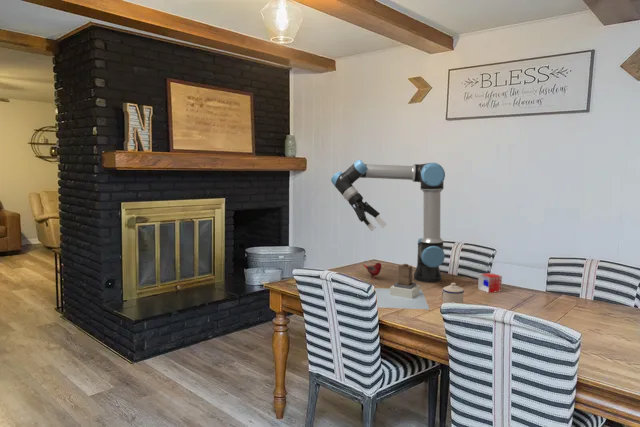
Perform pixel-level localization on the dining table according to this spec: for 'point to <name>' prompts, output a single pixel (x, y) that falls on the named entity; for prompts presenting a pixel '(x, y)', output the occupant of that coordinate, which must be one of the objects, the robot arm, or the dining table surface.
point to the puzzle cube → (489, 282)
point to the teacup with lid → (452, 293)
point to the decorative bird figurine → (374, 269)
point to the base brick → (405, 290)
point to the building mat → (400, 300)
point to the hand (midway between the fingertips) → (379, 227)
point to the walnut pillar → (405, 275)
